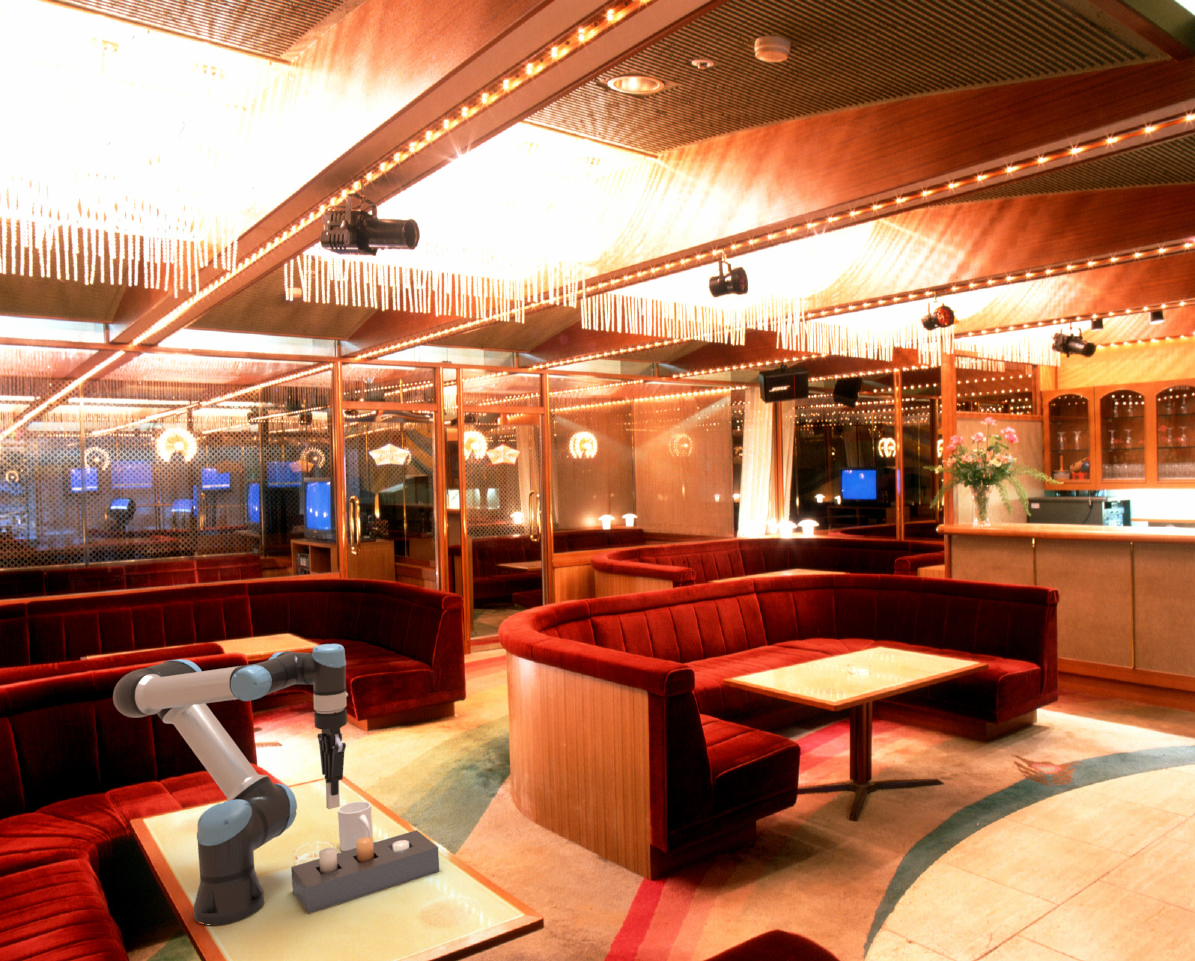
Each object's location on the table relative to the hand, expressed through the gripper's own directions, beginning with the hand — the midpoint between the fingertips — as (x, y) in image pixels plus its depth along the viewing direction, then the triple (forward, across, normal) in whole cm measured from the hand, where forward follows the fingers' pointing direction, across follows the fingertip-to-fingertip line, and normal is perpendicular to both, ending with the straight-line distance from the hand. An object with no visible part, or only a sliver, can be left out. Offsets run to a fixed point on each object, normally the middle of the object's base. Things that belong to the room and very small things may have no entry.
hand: (333, 806), depth 205 cm
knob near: (+15, -1, +2) cm, 15 cm away
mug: (+20, +19, -13) cm, 31 cm away
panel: (+20, -2, -7) cm, 21 cm away
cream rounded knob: (+18, -2, -16) cm, 24 cm away
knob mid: (+15, -2, -7) cm, 16 cm away
